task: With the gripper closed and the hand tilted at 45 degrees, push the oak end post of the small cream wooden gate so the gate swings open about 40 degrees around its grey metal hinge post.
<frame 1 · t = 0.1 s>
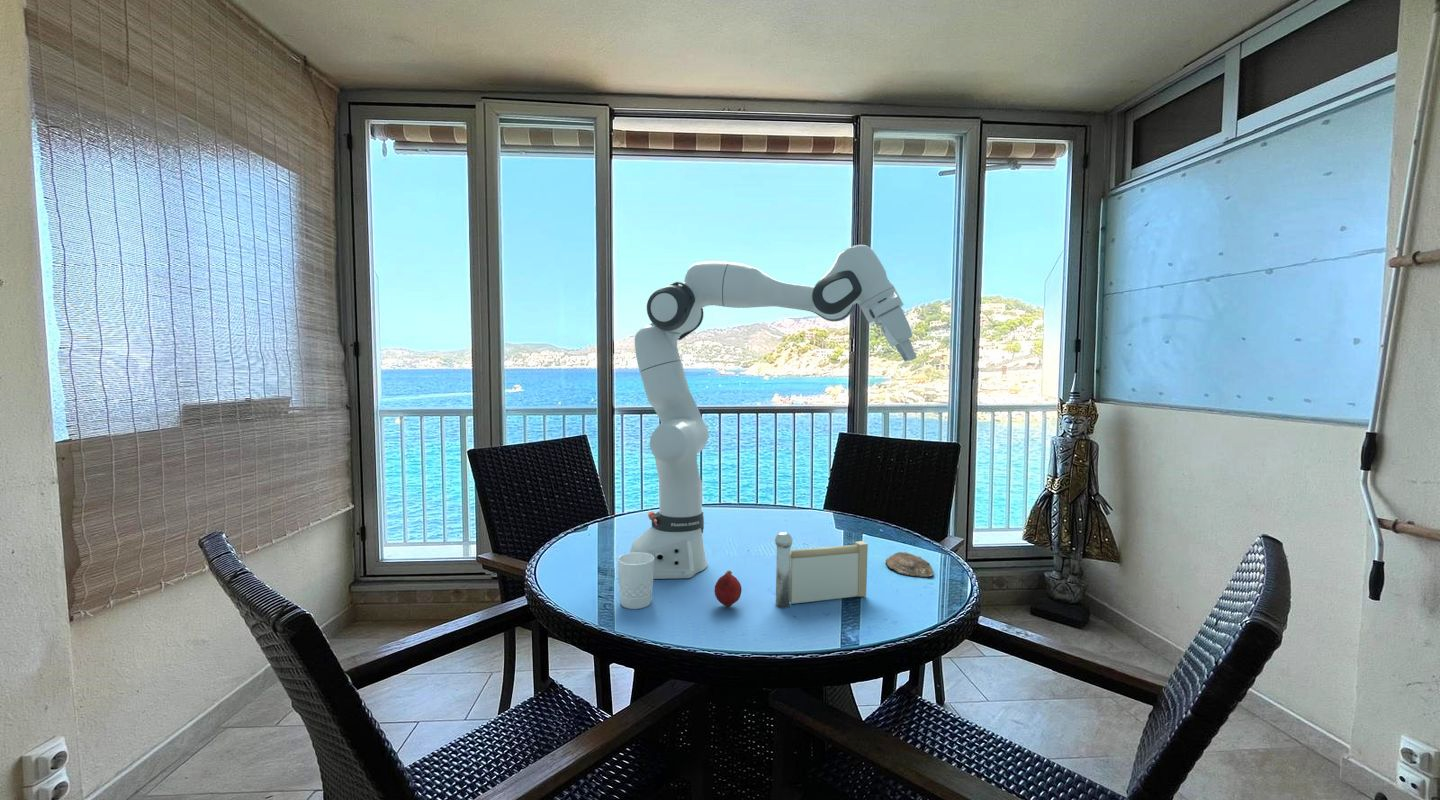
hand: (910, 359, 128), 54 cm above the table, tool tilted 30°, fingers open, 8 cm apart
white cup: (636, 603, 120), on the table
shell: (909, 570, 143), on the table
gate post: (782, 604, 120), on the table
gate leaf: (828, 571, 122), point 6 cm above the table, hinge at 0.0°
onion: (727, 607, 119), on the table
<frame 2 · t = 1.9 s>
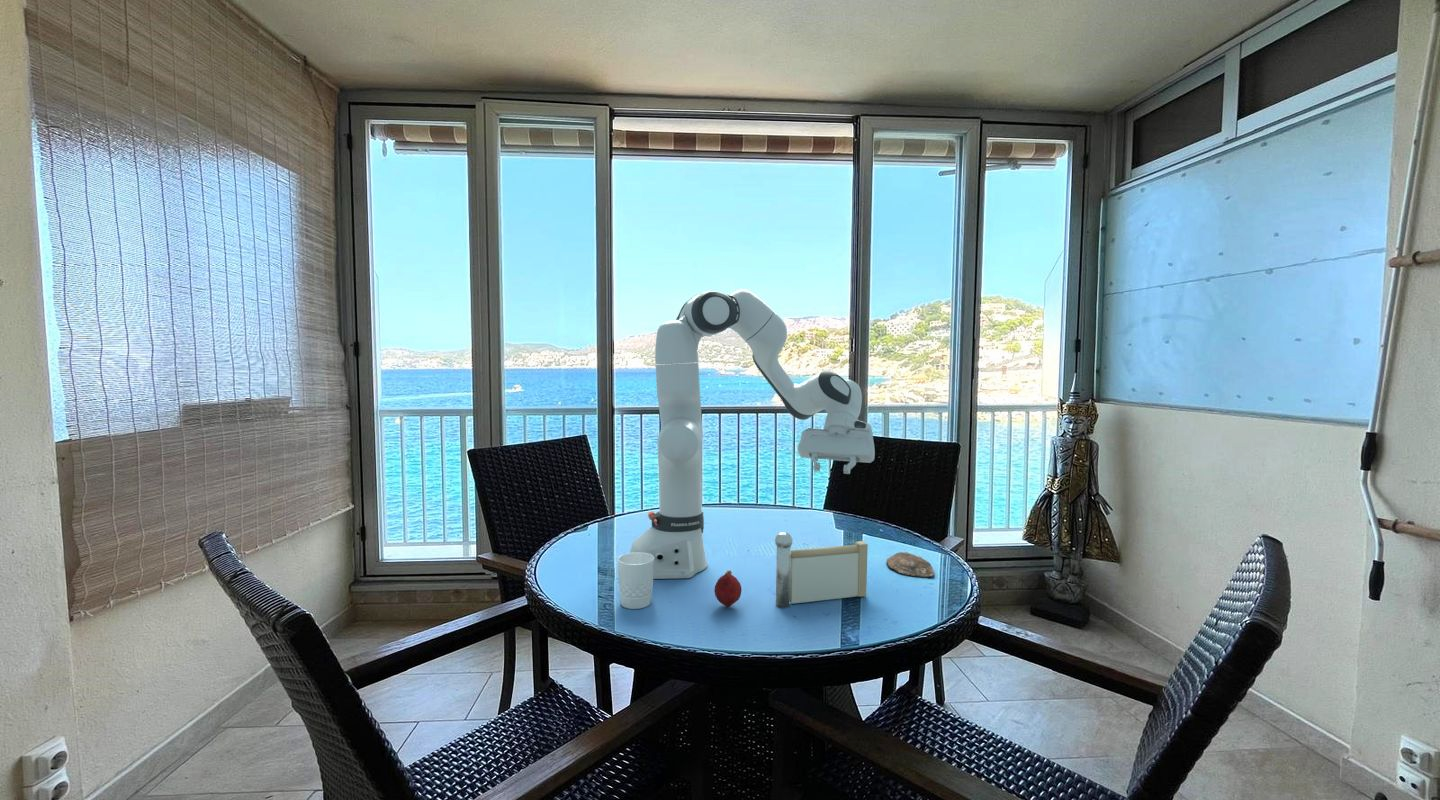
hand: (831, 471, 142), 25 cm above the table, tool tilted 45°, fingers open, 6 cm apart
nothing on the table moved.
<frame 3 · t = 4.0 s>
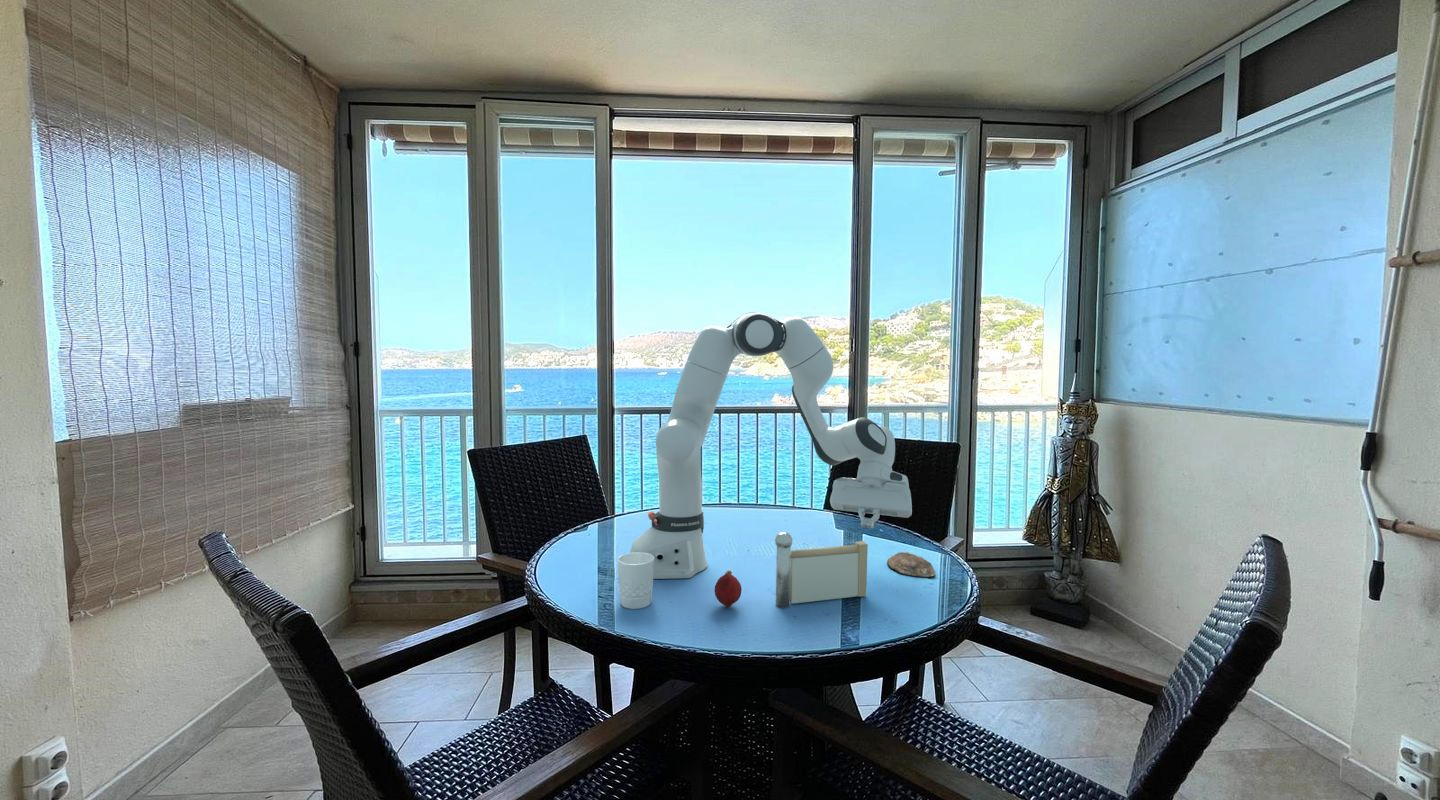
hand: (866, 526, 135), 13 cm above the table, tool tilted 45°, fingers closed
nothing on the table moved.
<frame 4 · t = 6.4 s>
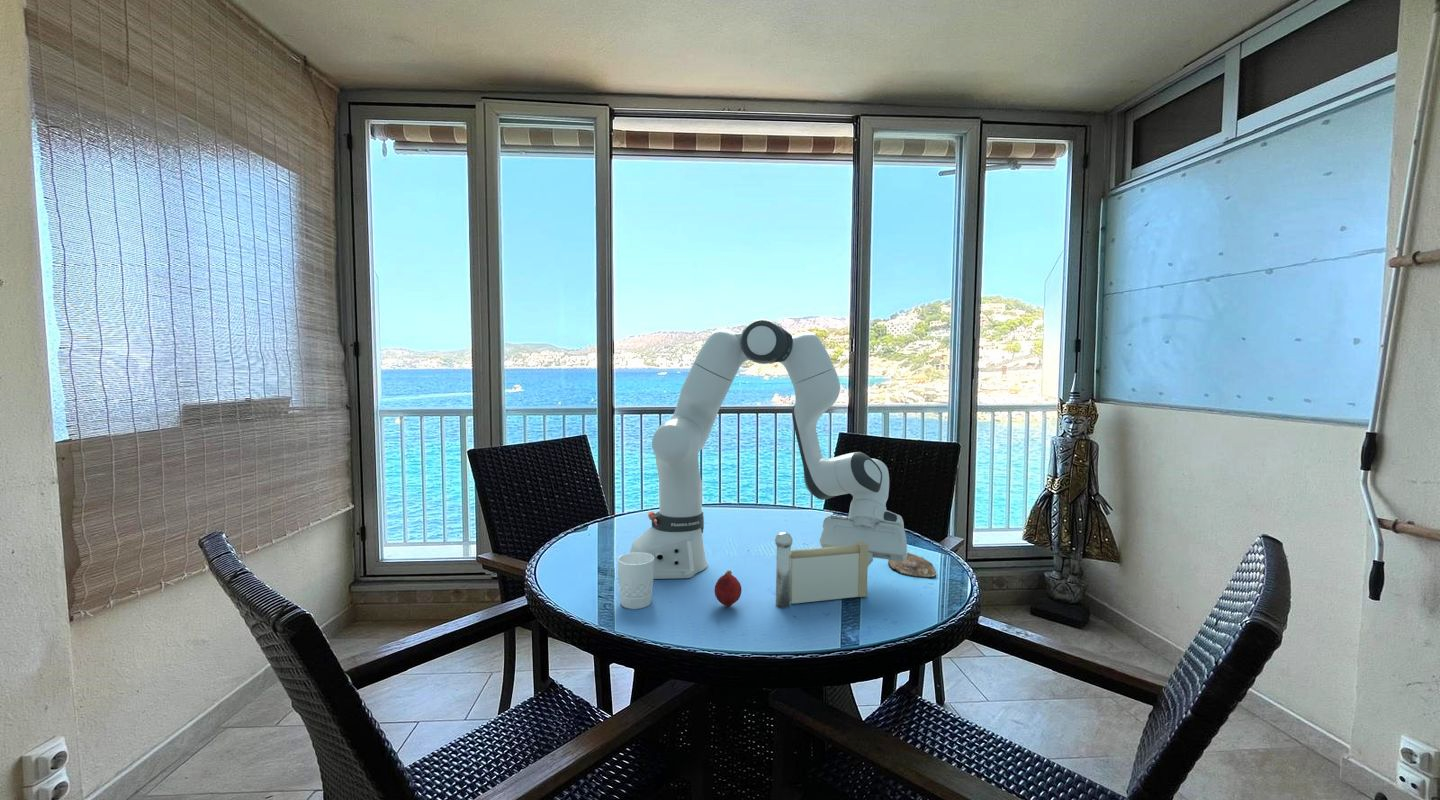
hand: (859, 571, 127), 5 cm above the table, tool tilted 45°, fingers closed
gate leaf: (828, 572, 122), point 6 cm above the table, hinge at 0.8°, touching gripper
everything else where it was.
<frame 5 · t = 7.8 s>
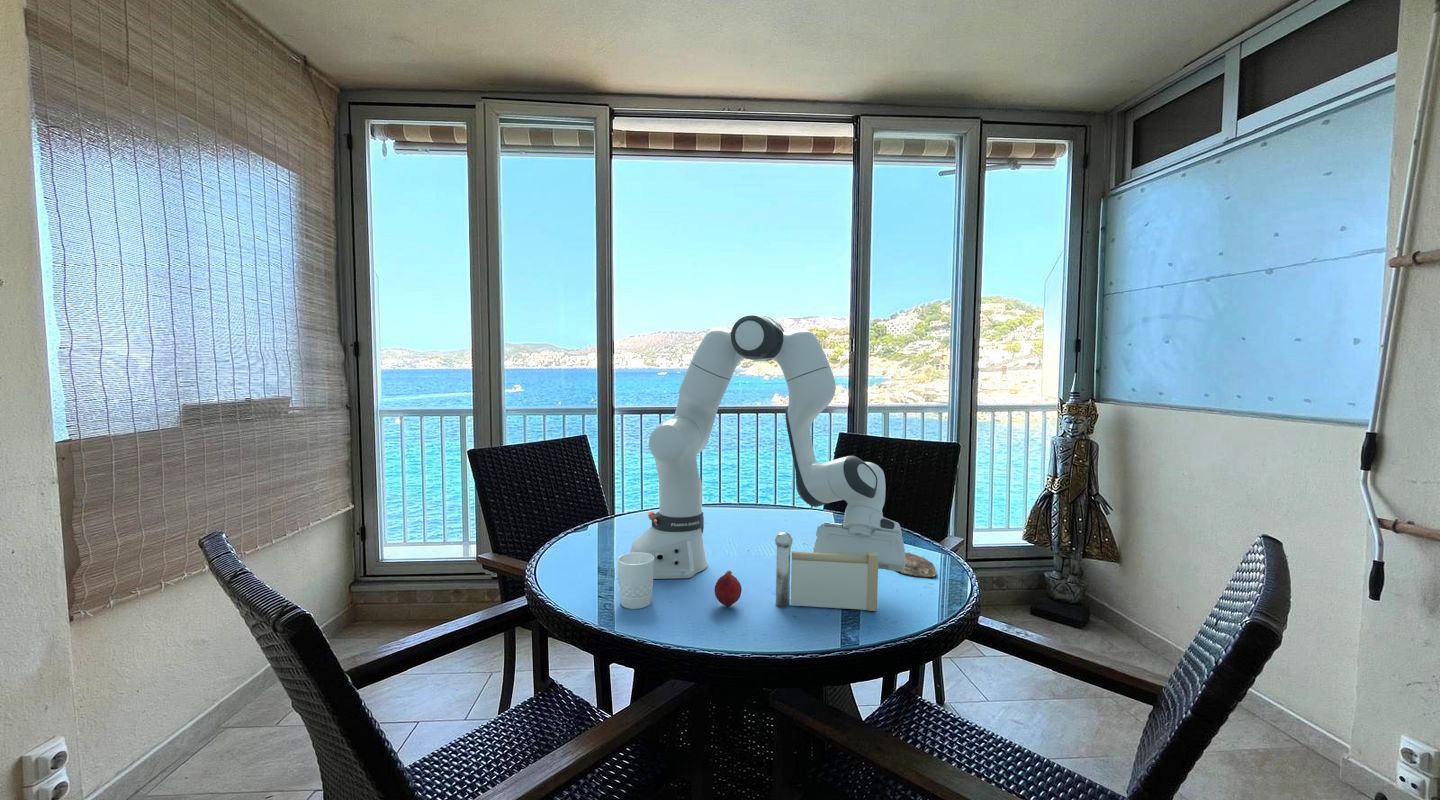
hand: (855, 582, 120), 5 cm above the table, tool tilted 45°, fingers closed
gate leaf: (833, 579, 118), point 6 cm above the table, hinge at 22.5°, touching gripper
everything else where it was.
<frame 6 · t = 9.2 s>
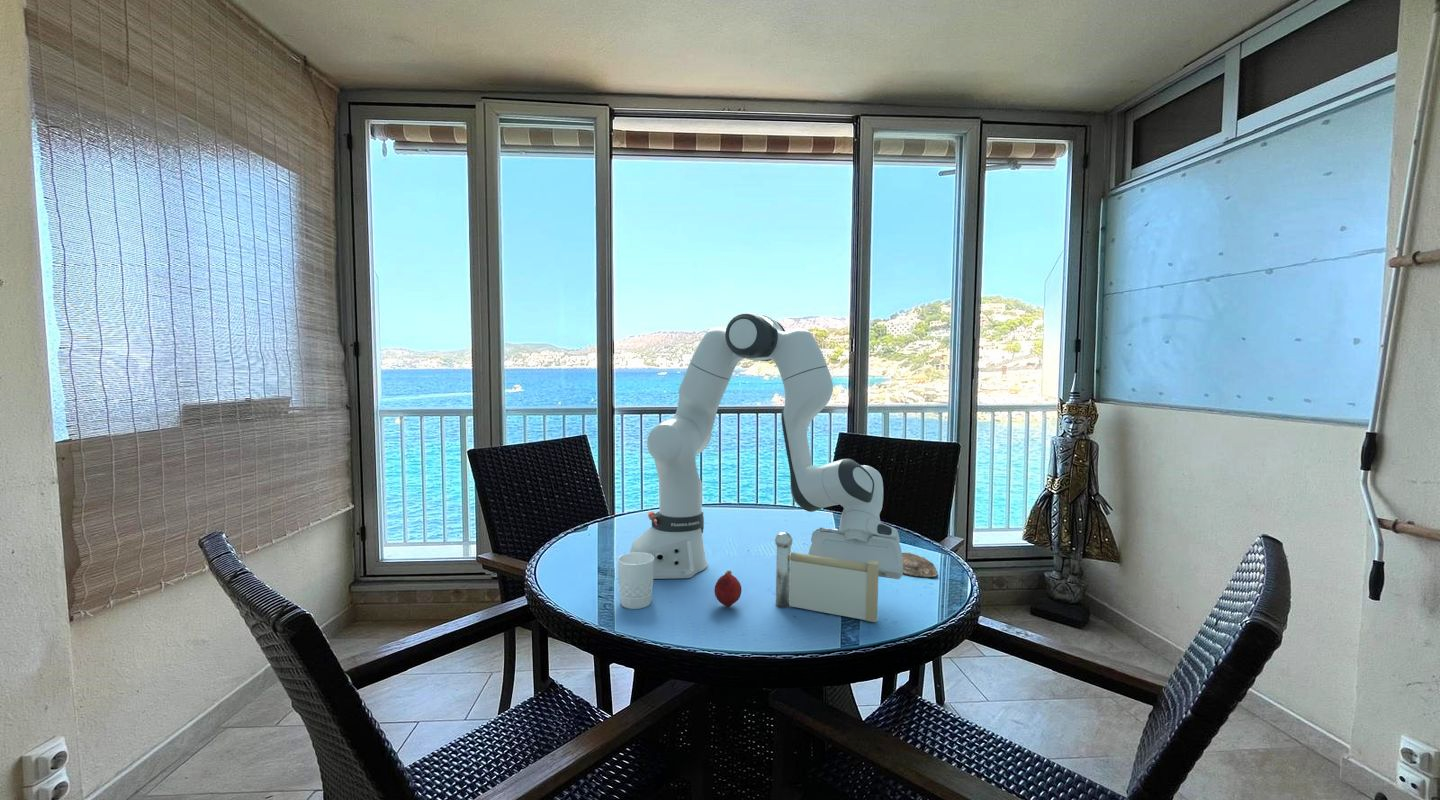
hand: (850, 590, 115), 5 cm above the table, tool tilted 45°, fingers closed on gate leaf
gate leaf: (832, 584, 115), point 6 cm above the table, hinge at 38.7°, touching gripper
everything else where it was.
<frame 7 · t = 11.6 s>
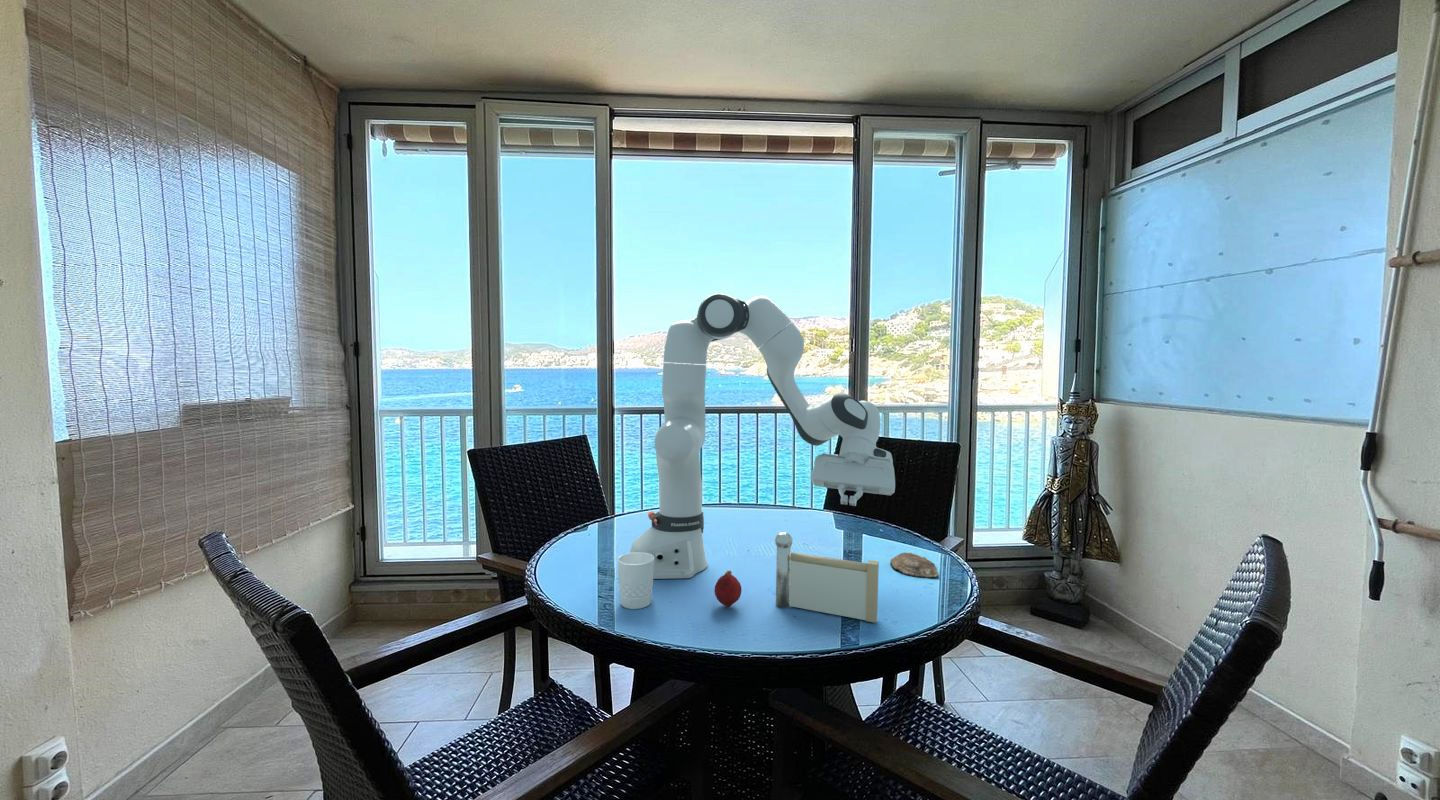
hand: (847, 503, 131), 20 cm above the table, tool tilted 45°, fingers closed
gate leaf: (832, 584, 115), point 6 cm above the table, hinge at 38.9°
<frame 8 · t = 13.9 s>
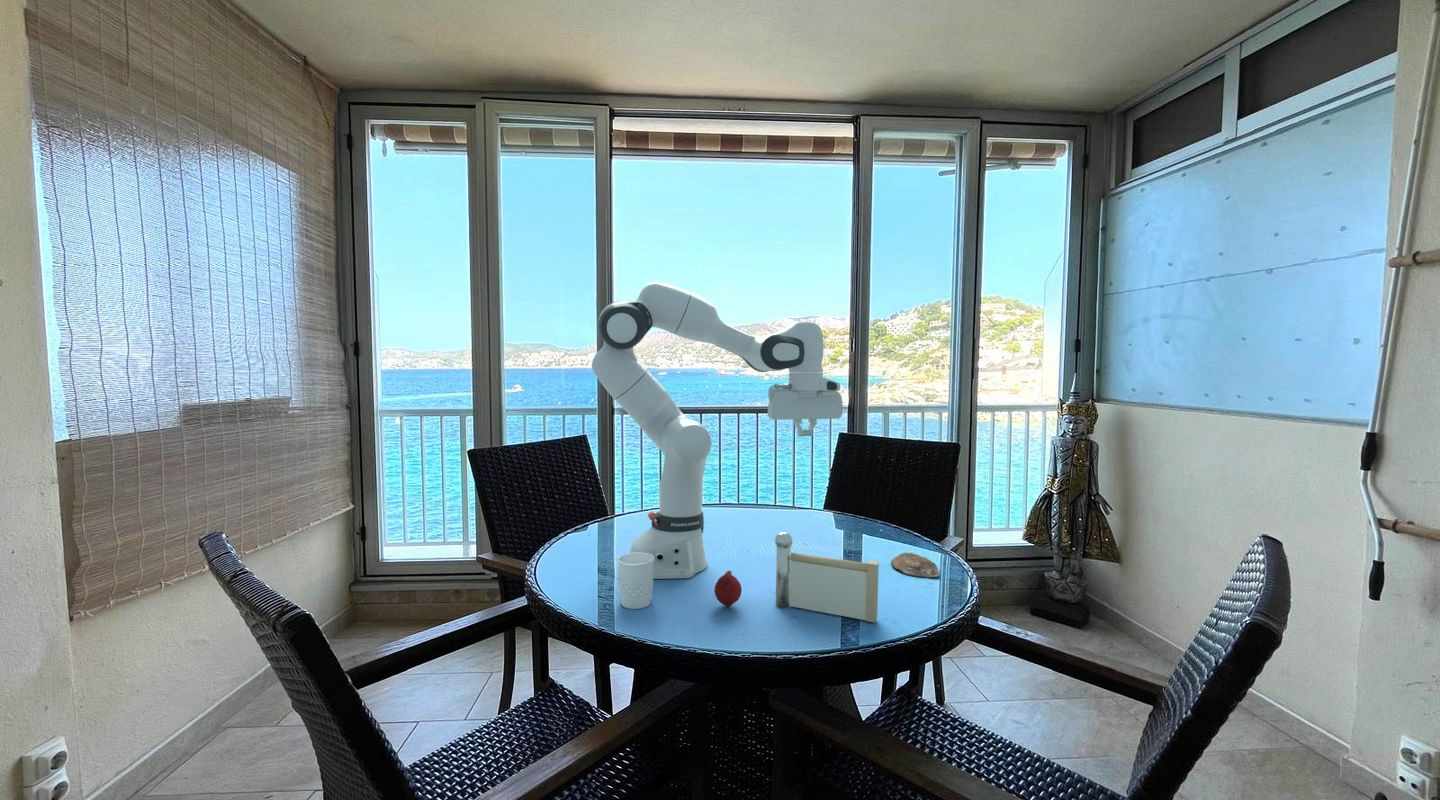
hand: (804, 436, 144), 34 cm above the table, tool pointing down, fingers closed
at the end: gate leaf at +39° (first picture: +0°) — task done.
